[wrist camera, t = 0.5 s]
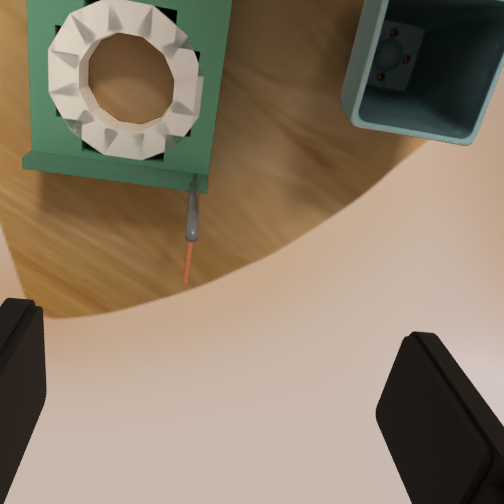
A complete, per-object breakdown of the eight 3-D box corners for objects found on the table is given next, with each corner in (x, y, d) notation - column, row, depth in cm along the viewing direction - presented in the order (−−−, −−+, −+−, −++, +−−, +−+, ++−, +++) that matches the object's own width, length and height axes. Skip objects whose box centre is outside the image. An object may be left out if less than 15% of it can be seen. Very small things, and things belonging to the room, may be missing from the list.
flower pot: (317, 103, 37) (349, 126, 29) (346, -21, 33) (391, -34, 25) (417, 121, 38) (473, 147, 30) (455, 4, 34) (531, -1, 27)
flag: (191, 161, 38) (186, 230, 26) (199, 162, 38) (198, 231, 26) (186, 202, 40) (179, 285, 27) (194, 203, 40) (191, 287, 27)
